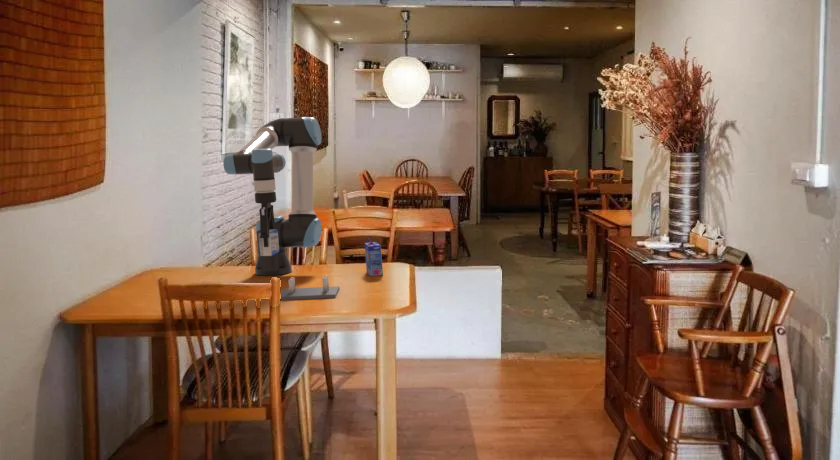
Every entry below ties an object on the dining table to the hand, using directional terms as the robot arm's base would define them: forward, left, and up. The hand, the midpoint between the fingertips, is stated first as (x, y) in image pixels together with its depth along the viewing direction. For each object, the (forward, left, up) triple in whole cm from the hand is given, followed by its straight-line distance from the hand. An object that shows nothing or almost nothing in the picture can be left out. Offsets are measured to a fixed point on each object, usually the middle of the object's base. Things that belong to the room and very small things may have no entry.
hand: (269, 253), depth 285 cm
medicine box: (0, 0, -1) cm, 1 cm away
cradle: (+9, +15, -14) cm, 23 cm away
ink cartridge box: (-27, +36, -14) cm, 47 cm away
